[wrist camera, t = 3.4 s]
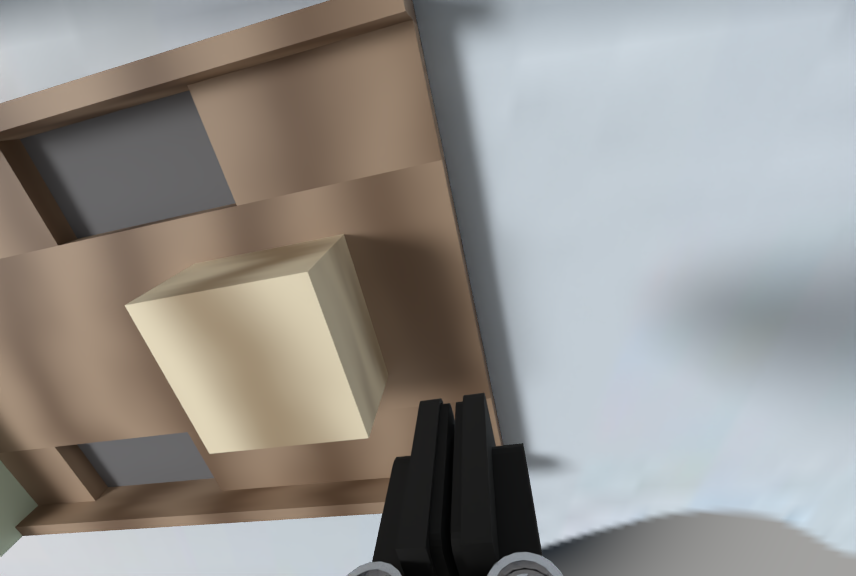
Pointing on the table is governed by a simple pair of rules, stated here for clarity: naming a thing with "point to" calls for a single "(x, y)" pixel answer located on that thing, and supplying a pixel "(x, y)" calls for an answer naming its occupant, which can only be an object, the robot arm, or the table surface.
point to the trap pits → (130, 206)
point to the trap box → (230, 236)
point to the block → (268, 347)
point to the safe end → (12, 508)
